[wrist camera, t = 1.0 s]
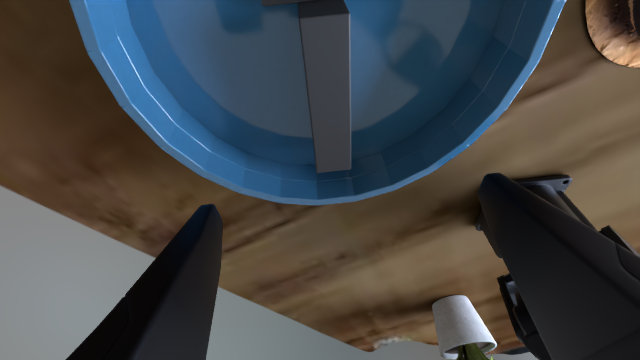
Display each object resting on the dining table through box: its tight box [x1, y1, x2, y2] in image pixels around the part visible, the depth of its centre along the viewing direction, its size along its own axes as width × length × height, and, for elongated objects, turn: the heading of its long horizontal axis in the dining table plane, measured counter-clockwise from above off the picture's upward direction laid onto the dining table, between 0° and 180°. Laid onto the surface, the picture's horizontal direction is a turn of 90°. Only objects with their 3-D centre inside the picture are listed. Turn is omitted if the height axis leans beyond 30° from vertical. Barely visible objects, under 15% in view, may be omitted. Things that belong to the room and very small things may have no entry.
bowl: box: [69, 0, 566, 206], centre depth 15 cm, size 20×20×4 cm
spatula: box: [261, 0, 351, 173], centre depth 15 cm, size 15×6×3 cm, turn 4°
